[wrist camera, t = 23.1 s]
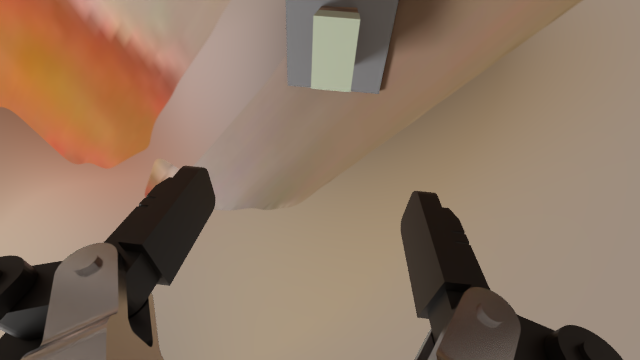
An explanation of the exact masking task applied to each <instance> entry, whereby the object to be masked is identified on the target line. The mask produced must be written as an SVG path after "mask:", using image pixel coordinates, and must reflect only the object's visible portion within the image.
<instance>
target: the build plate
mask: <svg viewBox="0 0 640 360" xmlns="http://www.w3.org/2000/svg"><path fill="white" fill-rule="evenodd" d="M398 1H399V0H286V30H287V72H288V85H290V86H300V87H311V74H312V44H313V16H314V14H315V13H316V12H317V11H318V10H319V9H320V7H321V6H332V7H353V8H357V9H358V13H359V15H360V26H359V33H358V40H357V48H356V55H355V62H354V70H353V77H352V84H351V91H354V92H364V93H375V94H379V90H380V85H381V80H382V76H383V71H384V66H385V62H386V57H387V52H388V48H389V43H390V38H391V34H392V29H393V24H394V20H395V15H396V10H397V6H398Z"/></svg>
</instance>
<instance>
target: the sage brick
mask: <svg viewBox="0 0 640 360" xmlns="http://www.w3.org/2000/svg"><path fill="white" fill-rule="evenodd" d="M359 26H360V15H359V13H354V12H342V11H329V10H318V11H317V12H316V13H315V14H314V16H313V44H312V74H311V89H321V90H332V91H343V92H351V84H352V77H353V70H354V62H355V55H356V48H357V40H358V33H359Z"/></svg>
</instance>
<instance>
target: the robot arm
mask: <svg viewBox="0 0 640 360" xmlns="http://www.w3.org/2000/svg"><path fill="white" fill-rule="evenodd" d="M214 206H215V194H214V191H213V187H212V184H211V181H210V177H209V174H208V171H207V169H206V168H202V167H193V166H183V167H182V168H181V169H180V170H179V171H178V172H177V173H176V174H175V176H174V177H173V178H171V177H169V178H167V179H166V180H164V181H162V182H161V183H159V184H158V185H156V186H155V187H154V188H153V189H152V190H151V191H150V193H149V194H148V195H147V197H146V198H144V199H143V200H142V201H141V202H140V204H139V207H136V208H135V209H134V210H133V211H132V212H131V213H130V214H129V216H128V217H127V218H126V219H125V220H124V221H123V222H122V223H121V224H120V225H119V227H118V228H117V229H116V230H115V231H114V232H113V233H112V234H111V235H110V236H109V238H108V239H107V240H106V241H105V242H104V243H96V244H92V245H89V246H86V247H83V248H81V249H79V250H77V251H75V252H74V253H73V254H71V255H69V256H68V257H67V258H66V259H65V260H64V261H59V262H53V263H47V264H41V265H35V266H31V265H29V264H28V263H27V262H26V261H24V260H23V259H22V258H20V257H18V256H3V257H0V330H2V331H4V332H6V333H5V334H4V335H3V336H2V337H1V338H0V360H164V359H163V357H162V355H161V352H160V348H159V341H158V333H157V324H156V317H155V308H154V300H153V295H152V293H151V292H152V290H153V289H154V287H155V286H156V284H161V285H169V286H170V284H171V283H172V281H173V279H174V277H175V276H176V274H177V272H178V270H179V269H180V267H181V265H182V264H183V262H184V260H185V258H186V257H187V255H188V253H189V251H190V250H191V248H192V246H193V244H194V243H195V241H196V239H197V237H198V236H199V234H200V232H201V231H202V229H203V227H204V225H205V223H206V222H207V220H208V218H209V217H210V215H211V213H212V212H213V209H214ZM401 235H402V240H403V245H404V251H405V256H406V261H407V266H408V271H409V276H410V281H411V287H412V292H413V296H414V302H415V307H416V313H417V317H419V318H427V319H429V320H430V325H431V330H430V331H429V333H428V335H427V336H426V338H425V340H424V342H423V344H422V346H421V348H420V350H419V352H418V354H417V356H416V357H415V359H414V360H623V359H622V358H621V356H620V355H619V354H618V353H617V352H616V351H615V350H614V349H613V348H612V347H611V346H610V345H609V344H608V343H607V342H606V341H604V340H603V339H602V338H600V337H599V336H598V335H595V334H594V333H592V332H591V331H589V330H587V329H584V328H582V327H579V326H575V325H567V326H564V327H562V328H560V329H558V330H556V331H554V330H552V329H549V328H547V327H545V326H542V325H540V324H537V323H535V322H533V321H530V320H528V319H526V318H523V317H521V316H519V315H517V314H516V313H515V311H514V310H513V308H512V307H511V306H510V305H509V304H508V302H507V301H505V300H504V299H503V298H502V297H501V296H499V295H498V294H496V293H495V292H493V291H491V290H490V288H489V286H488V284H487V282H486V280H485V277H484V275H483V273H482V271H481V268H480V266H479V264H478V261H477V259H476V257H475V254H474V252H473V250H472V248H471V246H470V245H469V241H468V239H467V237H466V235H465V234H464V230H463V228H462V225H461V223H460V220H459V219H458V218H457V217H456V216H455V215H454V213H453V212H452V211H451V210H450V209H449V208H442V206H441V204H440V201H439V199H438V196H437V194H436V193H431V192H420V191H414V192H413V193H412V195H411V197H410V200H409V202H408V204H407V207H406V209H405V212H404V214H403V217H402V221H401Z"/></svg>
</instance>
